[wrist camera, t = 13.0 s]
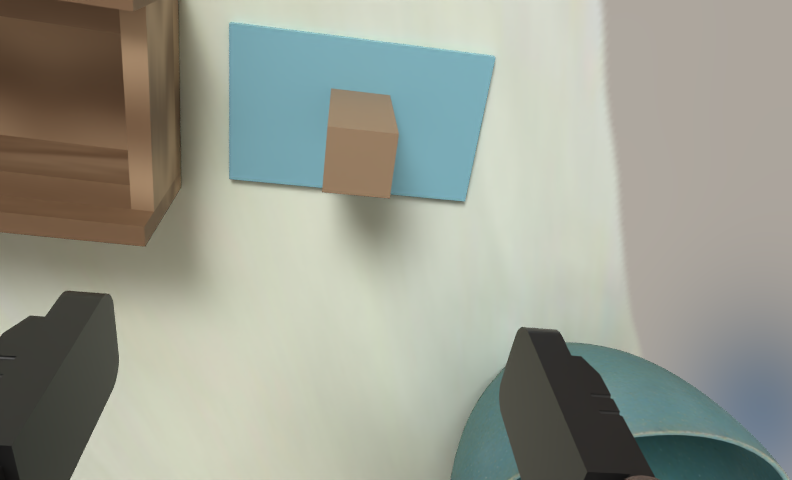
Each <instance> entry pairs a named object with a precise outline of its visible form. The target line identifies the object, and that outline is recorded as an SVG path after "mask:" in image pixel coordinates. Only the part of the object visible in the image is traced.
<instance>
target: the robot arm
mask: <svg viewBox="0 0 792 480" xmlns="http://www.w3.org/2000/svg"><path fill="white" fill-rule="evenodd" d="M118 365H119V354H118V344H117V334H116V324H115V315H114V305H113V300H112V297H111V296H110V295H109V294H102V293H89V292H76V291H65V292H63V293H62V294H61V296H60V297H59V298H58V300H57V301H56V302H55V304H54V305H53V307H52V308H51V309H50V311H49V312H48V313H47V315H46V316H45V317H42V316H29V317H27V318H26V319H24V320H23V321H21V322H20V323H18V324H17V325H15V326H13V327H12V328H10V329H9V330H7V331H6V332H4V333H3V334H2V335H1V337H0V480H70V478H71V476H72V474H73V472H74V470H75V468H76V466H77V464H78V462H79V459H80V457H81V455H82V453H83V451H84V449H85V447H86V445H87V443H88V441H89V438H90V436H91V434H92V432H93V430H94V428H95V426H96V424H97V422H98V420H99V417H100V415H101V413H102V411H103V409H104V407H105V405H106V403H107V401H108V399H109V396H110V394H111V392H112V390H113V388H114V385H115V381H116V378H117V373H118ZM499 405H500V411H501V415H502V418H503V422H504V425H505V428H506V432H507V435H508V438H509V441H510V445H511V448H512V451H513V455H514V458H515V461H516V464H517V468H518V471H519V474H520V478H521V480H660V479H657V478H655V476H654V474H653V472H652V470H651V468H650V466H649V465H648V463H647V461H646V459H645V457H644V455H643V453H642V452H641V450H640V448H639V446H638V444H637V442H636V440H635V438H634V437H633V435H632V433H631V431H630V429H629V427H628V425H627V424H626V422H625V420H624V418H623V416H621V415H620V411H619V409H618V407H617V405H616V403H615V401H614V399H611V394H610V392H609V390H608V388H607V386H606V385H605V383H604V381H603V379H602V377H601V375H600V374H599V373H598V372H597V371H596V370H595V369H594V368H593V367H592V366H591V365H590V364H589V363H588V362H587V361H586V360H585V359H584V358H583V357H581V356H572V355H571V353H570V351H569V349H568V347H567V345H566V343H565V341H564V339H563V337H562V335H561V334H560V332H559V331H557V330H552V329H539V328H526V327H521V328H520V329H519V330H518V332H517V334H516V336H515V339H514V342H513V346H512V349H511V352H510V355H509V358H508V361H507V364H506V367H505V370H504V373H503V377H502V380H501V383H500V390H499Z"/></svg>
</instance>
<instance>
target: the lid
mask: <svg viewBox="0 0 792 480" xmlns="http://www.w3.org/2000/svg"><path fill="white" fill-rule="evenodd" d="M494 62H495V57H494V56H491V55H484V54H476V53H468V52H460V51H452V50H445V49H437V48H429V47H421V46H413V45H406V44H398V43H390V42H382V41H374V40H366V39H359V38H351V37H343V36H335V35H327V34H320V33H312V32H304V31H296V30H288V29H281V28H273V27H265V26H257V25H249V24H242V23H234V22H230V23H229V179H234V180H245V181H255V182H266V183H276V184H287V185H297V186H308V187H319V188H322V192H327V193H338V194H348V195H359V196H370V197H380V198H390V194H392V195H403V196H413V197H424V198H435V199H445V200H456V201H465V198H466V194H467V189H468V184H469V180H470V175H471V170H472V165H473V161H474V156H475V151H476V147H477V142H478V137H479V132H480V128H481V123H482V118H483V114H484V109H485V104H486V99H487V95H488V90H489V85H490V81H491V76H492V71H493V67H494Z"/></svg>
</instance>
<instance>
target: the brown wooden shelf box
mask: <svg viewBox="0 0 792 480" xmlns="http://www.w3.org/2000/svg"><path fill="white" fill-rule="evenodd" d="M180 188H181V141H180V77H179V12H178V0H0V232H4V233H14V234H24V235H34V236H44V237H54V238H64V239H74V240H84V241H95V242H105V243H115V244H125V245H135V246H146V244H147V243H148V241H149V239H150V238H151V236H152V234H153V233H154V231H155V230H156V228H157V226H158V225H159V223H160V221H161V220H162V218H163V216H164V215H165V213H166V211H167V210H168V208H169V206H170V205H171V203H172V201H173V200H174V198H175V196H176V195H177V193H178V192H179V190H180Z"/></svg>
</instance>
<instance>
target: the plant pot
mask: <svg viewBox="0 0 792 480" xmlns="http://www.w3.org/2000/svg"><path fill="white" fill-rule="evenodd" d="M566 345H567V347H568V349H569V351H570V353H571V355H572V356H581V357H583V358H584V359H585V360H586V361H587V362H588V363H589V364H590V365H591V366H592V367H593V368H594V369H595V370H596V371H597V372H598V373H599V374H600V375H601V377H602V379H603V381H604V383H605V385H606V386H607V388H608V390H609V392H610V394H611V399H614V401H615V403H616V405H617V407H618V409H619V411H620V415H621V416H623V418H624V420H625V422H626V424H627V425H628V427H629V429H630V431H631V433H632V435H633V437H634V438H635V440H636V442H637V444H638V446H639V448H640V450H641V452H642V453H643V455H644V457H645V459H646V461H647V463H648V465H649V466H650V468H651V470H652V472H653V474H654V476H655V478H657V479H660V480H790V479H789V477H788V476H787V474H786V473H785V472H784V470H783V469H782V468H781V466H780V465H779V464H778V463H777V462H776V460H775V459H774V458H773V457H772V456H771V455H770V453H769V452H768V451H767V450H766V449H765V448H764V447H763V446H762V444H761V443H760V442H759V441H758V440H757V439H756V438H755V437H754V436H753V435H751V433H750V432H748V430H746V429H745V428H744V427H743V426H742V425H741V424H740V423H739V422H738V421H737V420H736V419H734V418H733V417H732V416H731V415H730V414H729V413H728V412H727V411H725V410H724V409H723V408H722V407H720V406H719V405H718V404H717V403H715V402H714V401H713V400H711V399H710V398H709V397H708V396H706V395H705V394H703V393H702V392H701V391H699V390H698V389H697V388H695V387H694V386H692V385H691V384H689V383H687V382H686V381H684V380H683V379H681V378H680V377H678V376H676V375H675V374H673V373H671V372H669V371H668V370H666V369H664V368H662V367H660V366H658V365H656V364H654V363H651V362H650V361H647V360H645V359H643V358H640V357H638V356H635V355H632V354H630V353H627V352H623V351H620V350H617V349H612V348H608V347H603V346H598V345H592V344H582V343H566ZM504 370H505V368H504V369H503V370H502V371H501V372H500V373H499V374H498V375H497V377H496V378H495V379H494V380H493V381H492V383H491V384H490V385H489V386H488V387H487V389H486V390H485V392H484V393H483V394H482V396H481V397H480V399H479V400H478V402H477V404H476V405H475V407H474V409H473V411H472V413H471V415H470V417H469V419H468V421H467V423H466V426H465V428H464V431H463V433H462V436H461V439H460V442H459V445H458V449H457V452H456V456H455V460H454V465H453V469H452V474H451V480H521V478H520V474H519V471H518V468H517V464H516V461H515V458H514V455H513V451H512V448H511V445H510V441H509V438H508V435H507V432H506V428H505V425H504V422H503V418H502V415H501V411H500V405H499V390H500V383H501V380H502V377H503V373H504Z"/></svg>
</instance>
